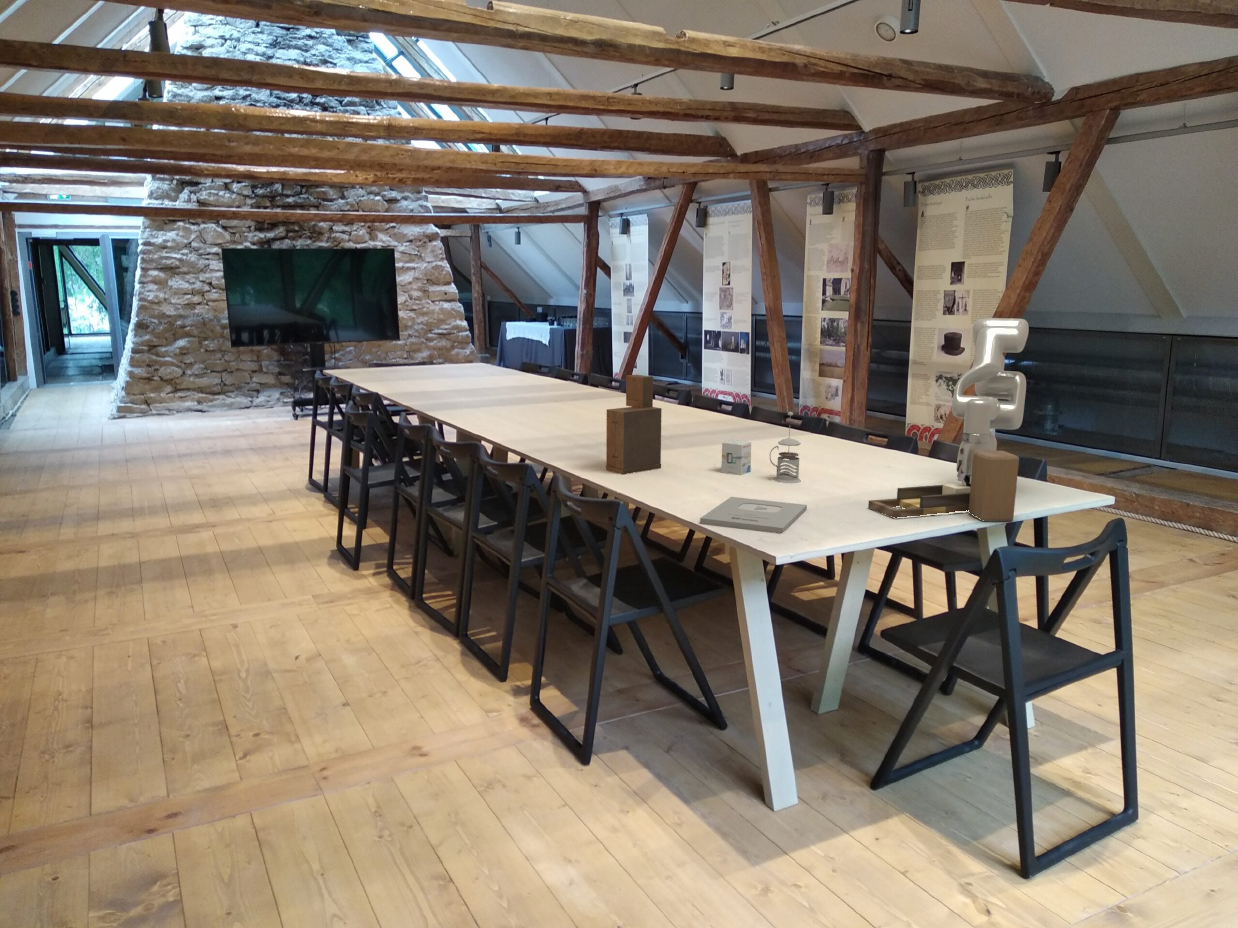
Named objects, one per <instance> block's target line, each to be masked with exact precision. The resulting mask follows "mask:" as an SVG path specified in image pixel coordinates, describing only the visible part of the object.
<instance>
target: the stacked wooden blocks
mask: <svg viewBox="0 0 1238 928" xmlns="http://www.w3.org/2000/svg"><path fill="white" fill-rule="evenodd" d="M625 380H626V381H625V383H626V384H625V388H626V389H625V406H626V407H617V408H608V409H606V446H605V447H606V452H605V453H606V454H605V455H606V458H605V459H606V463H605V464H606V465H605V470H606V471H608V472H611V473H615V472H616V473H615V474H619V473H620V475H627V473H629V474H633V472H635V473H641V472H647V471H652V470H657V469H659V470H660V469H662V460H661V459H662V407H655V406H653V404H654V403H653V402H654V399H653V397H654V395H653V394H654V391H653V390H654V376H649V375H643V374H641V375H640V374H629V375H626V376H625Z"/></svg>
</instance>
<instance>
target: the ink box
mask: <svg viewBox="0 0 1238 928" xmlns="http://www.w3.org/2000/svg"><path fill="white" fill-rule="evenodd" d="M751 464H752V441H746V440H735V439H731V440H726V441H724V442H722V443H721V471H720V473H722V474H729V475H737V476H742V475H745V474H748V473H750V472H751V470H752V467H751Z"/></svg>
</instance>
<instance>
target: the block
mask: <svg viewBox="0 0 1238 928" xmlns="http://www.w3.org/2000/svg"><path fill="white" fill-rule="evenodd" d="M1019 465H1020V457H1019V456H1018V455H1015V454H1012V453H1010V452H1008V451H1005V450H996V451H975V452H974V453H973V465H972V476H971V488H970V499H969V512H970V513H971V514H973V515H974V516H977V517H978V518H980V519H981V520H984V521H983V522H1012V521H1013V520H1014V515H1015V505H1016V493H1017V486H1018V485H1017V483H1018V474H1019ZM971 514H970V515H971ZM974 516H973V517H974ZM978 518H977V519H978ZM981 520H980V521H981Z"/></svg>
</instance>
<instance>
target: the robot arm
mask: <svg viewBox="0 0 1238 928" xmlns="http://www.w3.org/2000/svg"><path fill="white" fill-rule="evenodd" d="M1028 337H1029V323H1028V321H1027V320H1026V319H1024V318H1010V317H1009V318H1004V317H1003V318H1001V317H986V318H980V319H978V320H976V321H975V322H973V326H972V340H973V345H974V355H973V361H972V367H971V368H970V369H969V370H967V371H966V372H964V373H963V375H962V376H961V377H960V378H959V379H958V381H957V382H956V384H955V387H954V390H953V397H952V402H951V413H952V415H953V417H955V418H957V419H963V432H962V435H961V436H960V440H961V443H960V445H959V448H958V452H957V460H956V472H957V475H956V478H957V481H960V484H962V485H965V486H969V487H971V476H972V465H973V453H974V452H975V451H997V446H998V441H997V438H996V436H995V435H994V433H993V432H992V431H991V429H992V430H994V429H996V430H1008V431H1009V430H1012V431H1013V430H1018V429H1019V428H1020V427H1021V425H1022V423H1023V418H1024V413H1025V412H1024V410H1025V403H1026V402H1025V400H1026V394H1027V392H1026V391H1027V379H1026V376H1025V375H1024V373H1022V372H1020V371H1013V370H1012V371H1011V370H1005V363H1006V358H1005V356H1004V354H1003V353H1012V354H1013V353H1017V354H1018V353H1021V352H1022V351H1023V350H1024V348H1025V346H1026V343H1027V340H1028ZM972 385H974V392H975V394H976V395H968V394H966V395H964V392H965V390H966V389H967V388H968V387H970V386H972Z"/></svg>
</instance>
